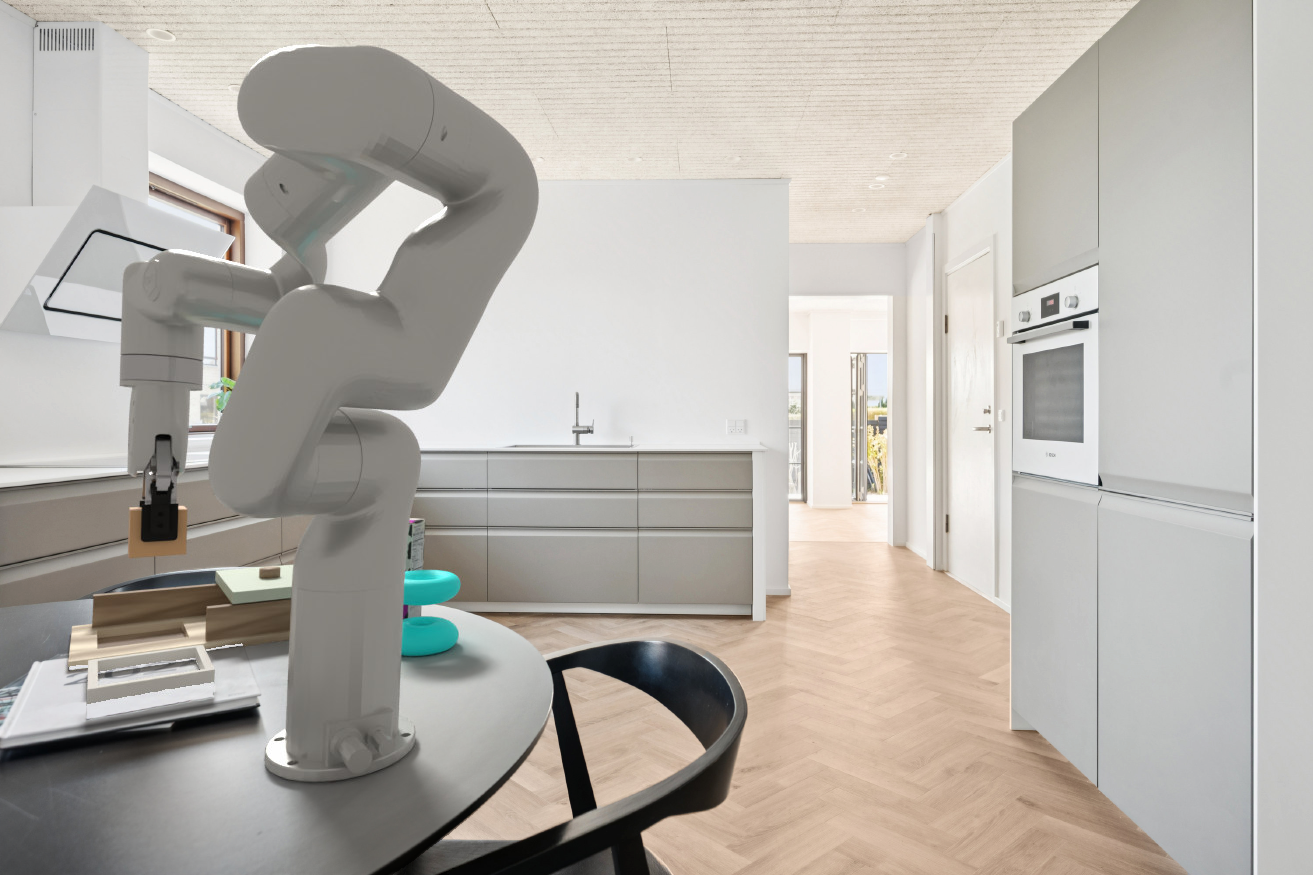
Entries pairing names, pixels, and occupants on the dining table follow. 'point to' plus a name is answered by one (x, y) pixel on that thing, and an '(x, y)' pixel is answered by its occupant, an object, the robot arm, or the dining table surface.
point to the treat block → (160, 547)
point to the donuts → (427, 630)
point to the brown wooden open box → (175, 622)
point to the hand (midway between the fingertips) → (157, 536)
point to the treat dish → (152, 683)
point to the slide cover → (256, 583)
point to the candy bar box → (414, 557)
